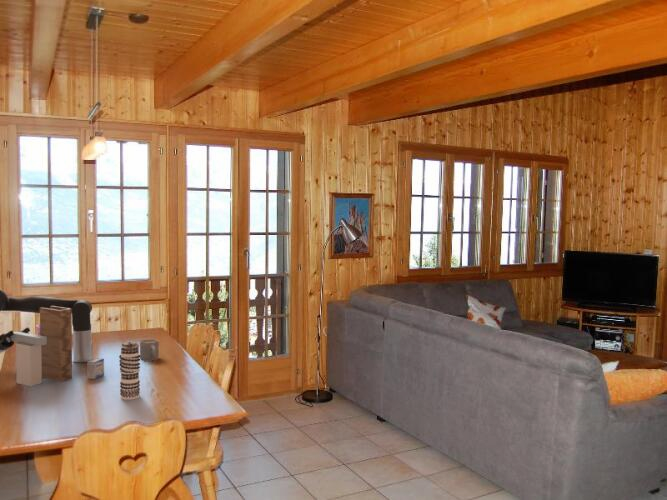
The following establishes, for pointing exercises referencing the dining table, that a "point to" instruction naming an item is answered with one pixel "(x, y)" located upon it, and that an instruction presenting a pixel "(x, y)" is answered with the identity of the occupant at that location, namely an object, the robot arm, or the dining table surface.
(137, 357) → the decorative candle
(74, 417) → the dining table surface
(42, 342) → the bar
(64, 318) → the stand
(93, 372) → the medicine box
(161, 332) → the dining table surface
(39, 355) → the block
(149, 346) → the coffee mug
